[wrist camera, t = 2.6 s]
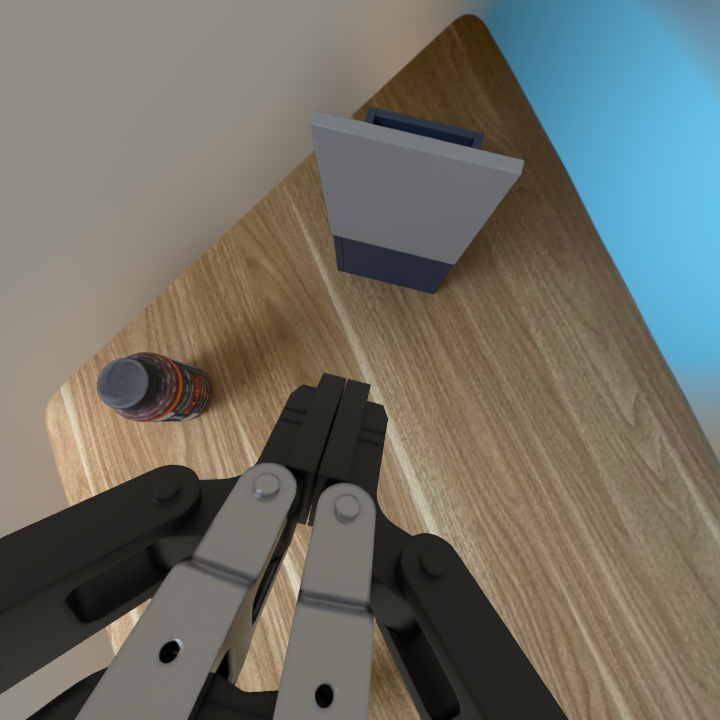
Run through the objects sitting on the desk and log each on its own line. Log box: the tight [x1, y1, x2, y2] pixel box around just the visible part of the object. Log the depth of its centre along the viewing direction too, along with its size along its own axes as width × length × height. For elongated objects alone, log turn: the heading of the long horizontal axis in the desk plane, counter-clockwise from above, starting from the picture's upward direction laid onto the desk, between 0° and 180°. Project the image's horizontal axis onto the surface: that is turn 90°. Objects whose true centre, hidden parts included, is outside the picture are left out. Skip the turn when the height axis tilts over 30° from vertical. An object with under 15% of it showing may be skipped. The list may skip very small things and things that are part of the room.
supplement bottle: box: [97, 352, 212, 422], centre depth 35 cm, size 6×6×11 cm
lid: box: [310, 110, 524, 265], centre depth 26 cm, size 14×11×1 cm
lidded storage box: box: [333, 107, 484, 294], centre depth 39 cm, size 13×11×9 cm
